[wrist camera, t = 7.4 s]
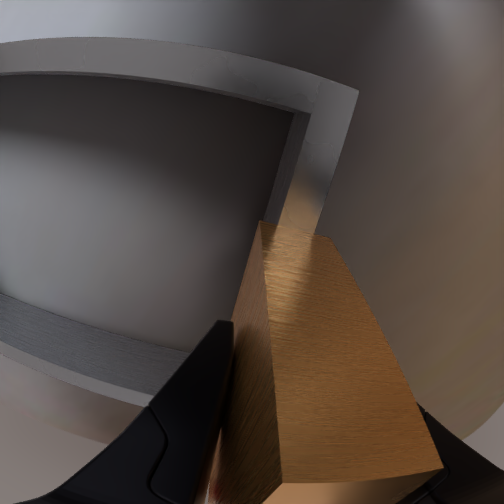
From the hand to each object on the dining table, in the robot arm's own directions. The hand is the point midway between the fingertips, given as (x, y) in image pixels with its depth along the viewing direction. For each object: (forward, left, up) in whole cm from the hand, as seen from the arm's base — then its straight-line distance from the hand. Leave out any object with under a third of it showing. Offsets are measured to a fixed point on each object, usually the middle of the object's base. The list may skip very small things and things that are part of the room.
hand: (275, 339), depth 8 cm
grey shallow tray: (+10, 0, -5) cm, 12 cm away
